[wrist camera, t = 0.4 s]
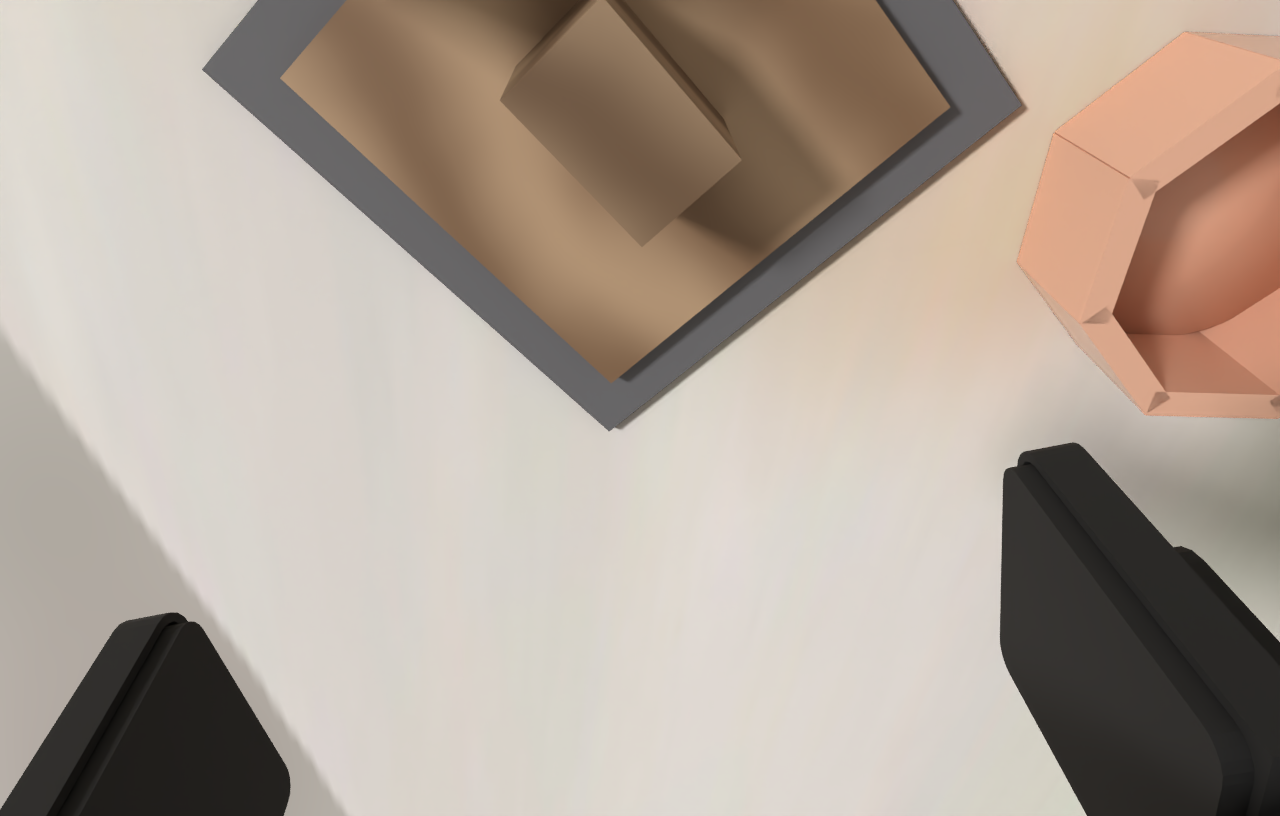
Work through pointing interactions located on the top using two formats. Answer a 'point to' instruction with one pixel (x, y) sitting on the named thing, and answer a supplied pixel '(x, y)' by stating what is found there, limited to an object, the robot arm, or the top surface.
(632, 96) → the lid
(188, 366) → the top surface
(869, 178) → the mat
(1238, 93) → the open box
